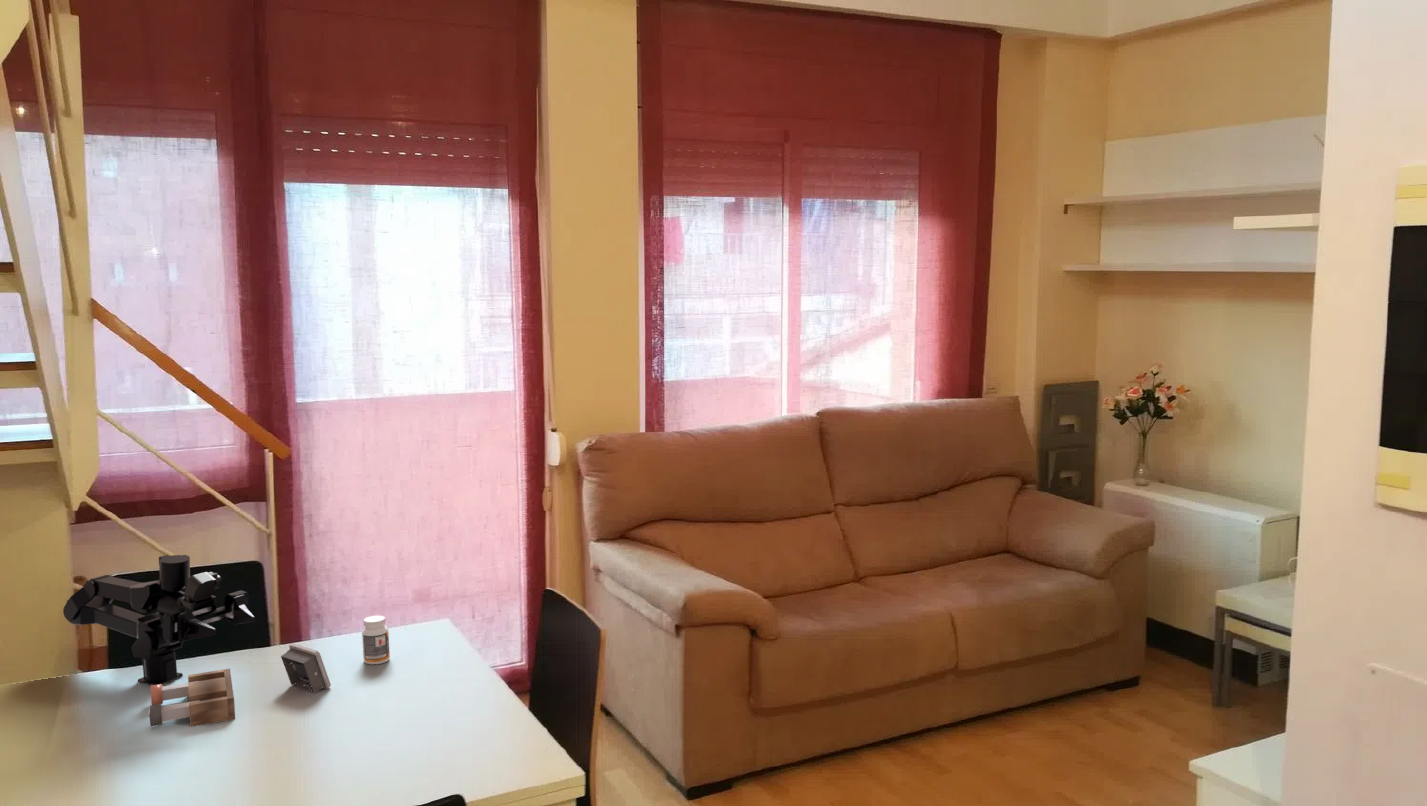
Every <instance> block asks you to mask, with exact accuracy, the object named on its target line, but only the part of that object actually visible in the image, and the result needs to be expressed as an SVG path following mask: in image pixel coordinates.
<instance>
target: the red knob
mask: <svg viewBox="0 0 1427 806" xmlns="http://www.w3.org/2000/svg"><path fill="white" fill-rule="evenodd" d="M194 682H198V681H194ZM188 683H192V682H188V681H187V682H182V683H178V684H177V683H176V684H171V685H163V684H157V685H150V686H149V687H150V703H151V705H157V704H161V705H164V701H169V700H175V699H181V698H187V697H188V698H189V690H188Z"/></svg>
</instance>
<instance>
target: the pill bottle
mask: <svg viewBox="0 0 1427 806" xmlns="http://www.w3.org/2000/svg"><path fill="white" fill-rule="evenodd" d="M386 621H387V620H386V616H384V615H370V616H367V617H365V618H364V619H363V626H364V629H363V630H362V634H361V639H362V649H363V650H362V655H363V662H364V663H365V664H367V665H374V664H375V665H380V664H384V663H386V662H388V661H389V660H390V658H391V656H390V655H391V654H390V639H389V638H390V637H389V634H390V633H389V628H388V627H387V626H386ZM375 665H374V666H375Z"/></svg>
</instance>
